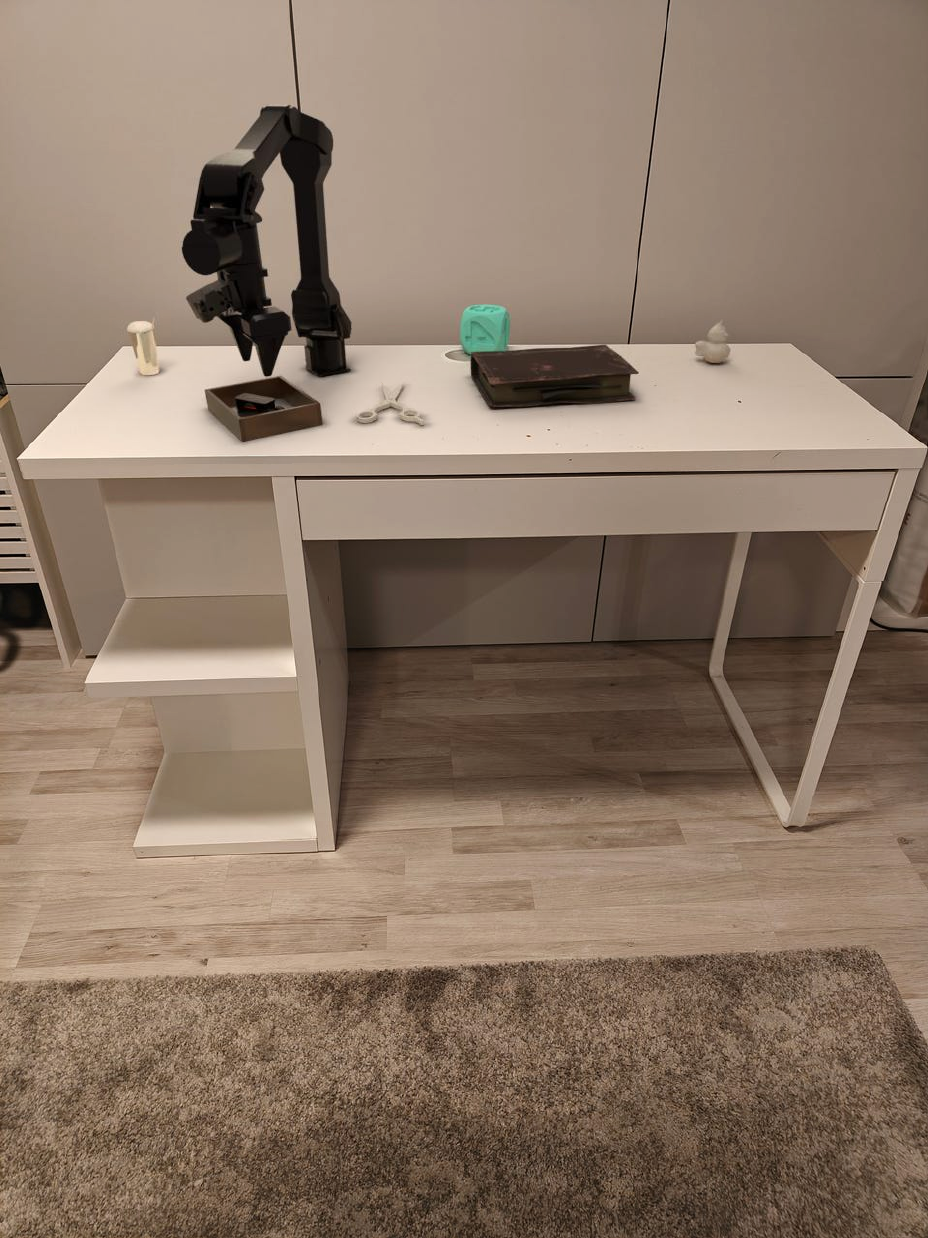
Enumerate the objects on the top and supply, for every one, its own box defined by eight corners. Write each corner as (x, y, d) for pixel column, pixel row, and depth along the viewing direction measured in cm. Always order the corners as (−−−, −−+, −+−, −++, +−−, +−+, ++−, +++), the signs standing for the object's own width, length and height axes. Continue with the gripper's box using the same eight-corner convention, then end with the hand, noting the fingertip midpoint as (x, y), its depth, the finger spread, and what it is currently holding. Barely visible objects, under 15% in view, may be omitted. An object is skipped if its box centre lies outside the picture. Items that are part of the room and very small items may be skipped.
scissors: (355, 422, 129) (362, 380, 145) (356, 426, 129) (362, 384, 145) (423, 420, 129) (422, 379, 145) (423, 425, 129) (423, 383, 146)
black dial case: (272, 424, 130) (269, 404, 128) (236, 417, 133) (233, 397, 131) (290, 415, 134) (287, 395, 132) (255, 408, 136) (252, 389, 134)
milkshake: (159, 377, 150) (147, 320, 144) (132, 375, 151) (119, 319, 145) (171, 369, 153) (160, 314, 148) (145, 368, 154) (133, 312, 149)
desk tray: (283, 395, 141) (281, 375, 140) (322, 424, 130) (320, 402, 128) (208, 410, 136) (204, 389, 134) (242, 441, 124) (238, 419, 122)
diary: (470, 376, 150) (470, 348, 147) (602, 368, 153) (605, 341, 150) (490, 412, 134) (491, 381, 132) (637, 402, 138) (640, 372, 135)
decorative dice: (499, 358, 159) (500, 315, 154) (459, 355, 160) (459, 312, 156) (509, 347, 165) (510, 305, 160) (471, 344, 167) (471, 302, 162)
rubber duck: (731, 366, 154) (738, 322, 150) (695, 366, 154) (702, 322, 150) (724, 358, 159) (732, 314, 154) (690, 357, 159) (696, 314, 154)
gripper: (167, 256, 123) (187, 361, 132) (207, 279, 110) (226, 394, 118) (239, 248, 128) (254, 350, 136) (286, 269, 115) (299, 381, 123)
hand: (256, 368), depth 129 cm, fingers open, 9 cm apart
